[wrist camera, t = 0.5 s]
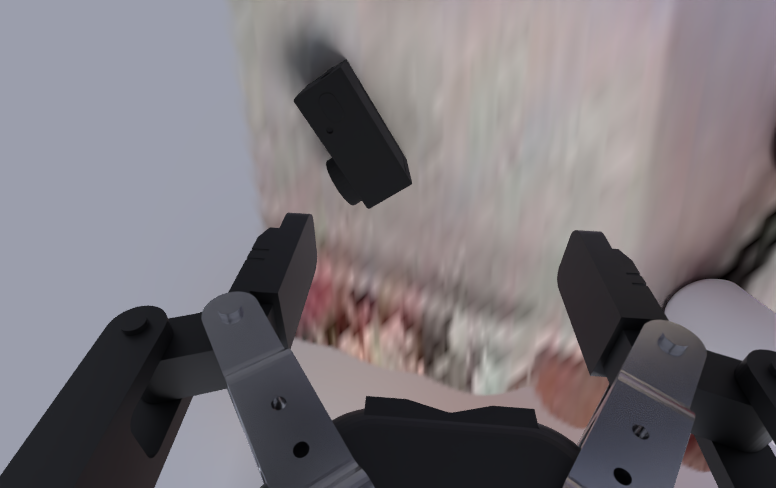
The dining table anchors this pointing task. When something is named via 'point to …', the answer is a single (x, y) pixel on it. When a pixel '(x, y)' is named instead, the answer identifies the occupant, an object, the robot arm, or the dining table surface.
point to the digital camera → (354, 138)
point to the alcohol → (724, 318)
